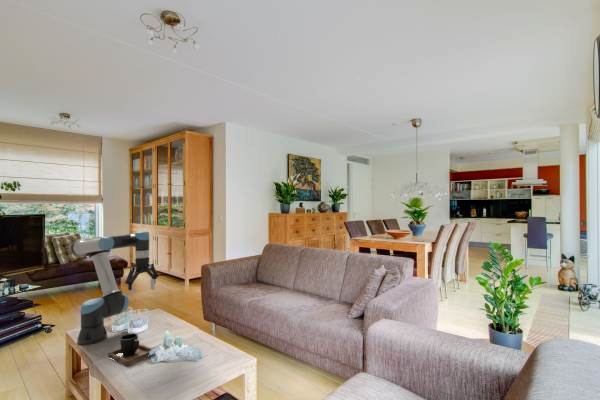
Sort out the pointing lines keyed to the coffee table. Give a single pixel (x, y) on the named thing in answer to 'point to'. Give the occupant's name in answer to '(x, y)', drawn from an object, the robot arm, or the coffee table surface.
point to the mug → (129, 344)
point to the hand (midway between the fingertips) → (142, 292)
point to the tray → (130, 360)
